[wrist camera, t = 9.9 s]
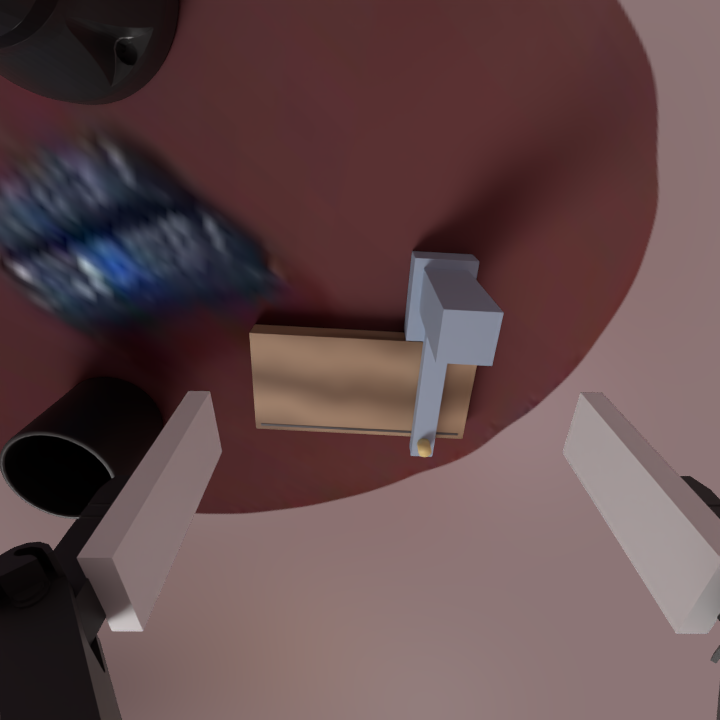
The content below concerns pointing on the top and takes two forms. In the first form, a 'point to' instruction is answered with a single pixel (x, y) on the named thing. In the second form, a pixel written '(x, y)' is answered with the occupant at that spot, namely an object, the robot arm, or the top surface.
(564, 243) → the top surface
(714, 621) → the robot arm
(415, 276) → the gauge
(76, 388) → the mug
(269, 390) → the board
